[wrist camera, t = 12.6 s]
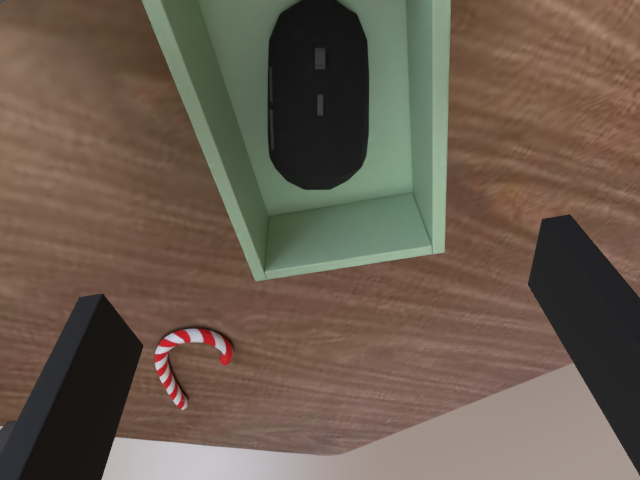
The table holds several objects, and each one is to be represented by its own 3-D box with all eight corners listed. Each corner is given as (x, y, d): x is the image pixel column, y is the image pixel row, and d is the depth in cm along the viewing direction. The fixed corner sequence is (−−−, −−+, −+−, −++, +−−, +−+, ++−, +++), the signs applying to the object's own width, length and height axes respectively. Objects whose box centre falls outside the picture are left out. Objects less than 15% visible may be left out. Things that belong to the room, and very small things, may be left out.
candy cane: (152, 409, 49) (153, 331, 40) (155, 398, 50) (157, 320, 41) (220, 414, 50) (236, 341, 41) (221, 404, 51) (237, 330, 42)
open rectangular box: (261, 221, 33) (255, 282, 28) (145, -116, 20) (94, -114, 15) (422, 194, 32) (444, 252, 27) (414, -181, 19) (456, -202, 14)
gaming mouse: (382, -74, 21) (397, -65, 18) (360, 181, 30) (367, 215, 27) (254, -75, 20) (246, -66, 17) (273, 182, 30) (270, 216, 27)
